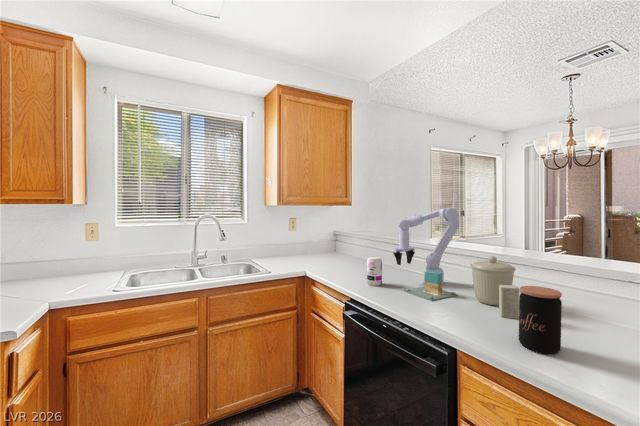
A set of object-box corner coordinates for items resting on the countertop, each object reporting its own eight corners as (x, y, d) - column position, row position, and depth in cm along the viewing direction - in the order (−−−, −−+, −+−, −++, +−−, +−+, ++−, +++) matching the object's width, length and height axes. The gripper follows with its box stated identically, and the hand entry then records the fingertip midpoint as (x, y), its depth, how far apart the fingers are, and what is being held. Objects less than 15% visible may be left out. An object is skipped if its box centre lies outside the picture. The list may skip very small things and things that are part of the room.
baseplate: (429, 286, 164) (429, 284, 164) (457, 295, 148) (457, 292, 148) (404, 291, 156) (404, 288, 156) (431, 301, 140) (431, 298, 140)
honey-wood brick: (429, 289, 156) (429, 280, 156) (442, 292, 151) (442, 282, 151) (424, 291, 153) (424, 281, 153) (438, 294, 148) (438, 284, 148)
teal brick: (428, 280, 156) (429, 270, 156) (442, 282, 151) (442, 272, 151) (424, 281, 153) (424, 271, 153) (437, 284, 148) (437, 274, 148)
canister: (512, 299, 143) (512, 254, 142) (518, 311, 126) (519, 261, 126) (469, 294, 150) (469, 252, 150) (470, 305, 134) (470, 258, 133)
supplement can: (381, 282, 173) (381, 256, 173) (382, 286, 165) (382, 259, 165) (366, 282, 174) (366, 256, 174) (367, 286, 166) (367, 258, 166)
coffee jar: (510, 340, 100) (511, 286, 99) (541, 339, 101) (542, 285, 100) (536, 356, 89) (537, 295, 89) (570, 355, 90) (571, 294, 89)
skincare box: (516, 315, 122) (516, 285, 122) (519, 319, 118) (519, 288, 117) (498, 313, 124) (498, 284, 124) (500, 317, 120) (501, 286, 119)
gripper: (408, 239, 181) (408, 261, 181) (389, 240, 174) (389, 264, 174) (417, 240, 174) (417, 263, 175) (398, 241, 168) (397, 266, 168)
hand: (403, 264), depth 174 cm, fingers open, 7 cm apart
